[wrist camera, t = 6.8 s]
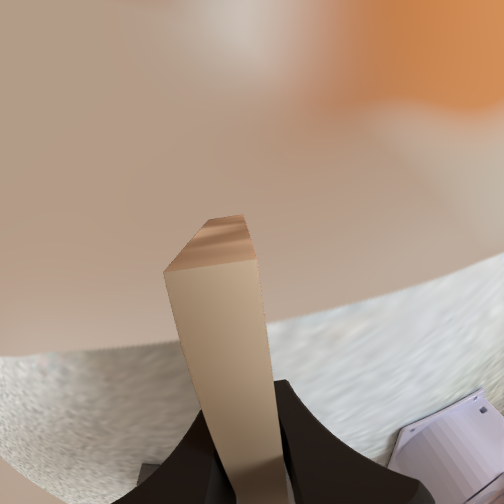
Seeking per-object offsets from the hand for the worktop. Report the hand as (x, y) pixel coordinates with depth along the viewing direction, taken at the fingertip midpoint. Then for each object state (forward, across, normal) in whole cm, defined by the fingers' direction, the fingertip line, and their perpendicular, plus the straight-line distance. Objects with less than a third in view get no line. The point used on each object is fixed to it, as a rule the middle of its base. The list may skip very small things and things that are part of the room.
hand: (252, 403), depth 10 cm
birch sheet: (+4, 0, 0) cm, 4 cm away
